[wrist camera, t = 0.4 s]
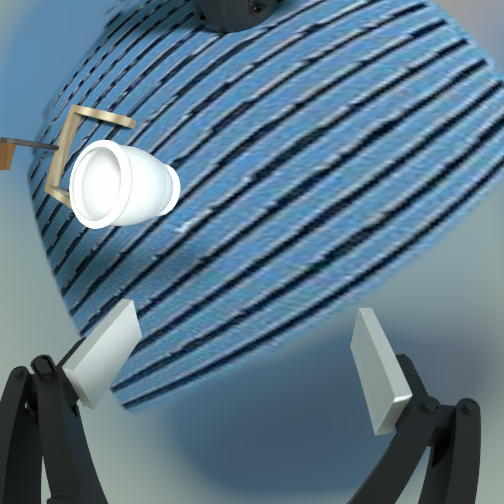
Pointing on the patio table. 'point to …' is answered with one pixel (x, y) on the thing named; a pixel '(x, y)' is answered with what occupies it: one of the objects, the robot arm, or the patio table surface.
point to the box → (60, 147)
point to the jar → (120, 186)
